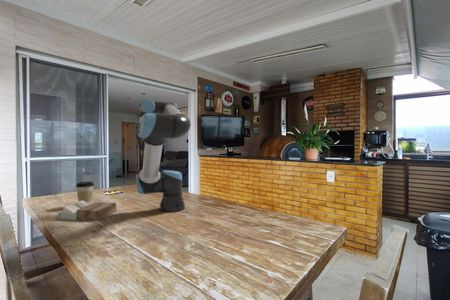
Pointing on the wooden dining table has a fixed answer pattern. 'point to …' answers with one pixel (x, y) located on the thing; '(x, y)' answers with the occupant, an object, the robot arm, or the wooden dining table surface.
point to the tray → (67, 216)
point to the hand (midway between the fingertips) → (145, 160)
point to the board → (96, 211)
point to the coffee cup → (85, 191)
